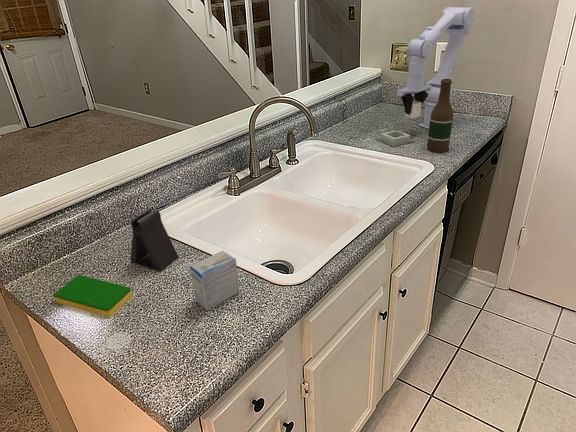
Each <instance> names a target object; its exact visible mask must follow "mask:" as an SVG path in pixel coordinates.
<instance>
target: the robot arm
mask: <svg viewBox="0 0 576 432" xmlns="http://www.w3.org/2000/svg"><path fill="white" fill-rule="evenodd" d="M474 15H475V14H474V9H473V7H471V6H469V7H461V6H460V7H455V6H447V7H445V8H444V10H442V14H441V17H440V19H439V20H438V21H437V22H436V23H435V25H433V26H427V28H426V30H424V31H422V33H421V34H419V36H418V37H417V38H413V39H411V40H410V41H409V43H408V45H407V47H406V55H407V61H408V62H409V63H408V70H407V71H408V72H407V82H406V84H407V85H406V86H405V87H404V88H401V89H397V94H396V96H398V97H400V99H401V101H402V104H403V107H404V115H405V114H408V115H410V113H411V108H412V103H413V100H415V101H419V102H422V105H421V109H422V108H423V105H425V106H424V107H425V108H424V115H423V122H422V123H418V126H420V127H422V128H424V129H428V130H429V125H430V117H431V113H432V110H433V108H434V107H435V105H436V104H437V103H438V99H439V94H440V88H441V80H442V79H450V77H451V74H452V71H453V69H454V66H455V64H456V61H457V58H458V56H459V53H460V50H461V47H462V45H463V42H464V39H465V37H466V35H468V34H469V33H470V30H471V27H472V25H473V22H474V19H475V16H474ZM443 32H445V33H447V34H448V35H449V38H448V41H447V44H446V45H445V46H446V47H445V48H444V51H443V54H442V58H441V60H440V62H439V66H438V68H437V71H436V74H435V76H434V77H433V78H430V79H429V80H427V83H426V84H425V76H426V75H425V74H426V66H427V57H429V56H430V54H431V51H432V49H433V47H434V45H436V44H437V42H438V41H440V39H441V36H442V33H443ZM453 89H454V87H453V85H452V84H451V89H450V100H451V98H452V93H453ZM413 94H414V95H413Z"/></svg>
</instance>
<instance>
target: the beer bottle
mask: <svg viewBox="0 0 576 432" xmlns="http://www.w3.org/2000/svg"><path fill="white" fill-rule="evenodd" d="M452 84H453V80H452V79H451V78H449V79H442V80H441V88H440V94H439V99H438V103H437V104H436V105H435V107H434V108H433V110H432V113H431V117H430V125H429V129H428V135H427V142H426V150H427V151H428V152H431V153H434V154H435V153H437V154H442V153H443V154H444V153H447V152H448V150H449V147H450V141H451V135H452V127H453V120H454V110H453V107H452V105H451V99H450V89H451V85H452Z"/></svg>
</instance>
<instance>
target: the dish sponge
mask: <svg viewBox="0 0 576 432" xmlns="http://www.w3.org/2000/svg"><path fill="white" fill-rule="evenodd" d="M53 297H54V300H55V302H56V303H57V304H61V305H63V306H67V307H71V308H75V309H78V310H81V311H85V312H89V313H92V314H95V315H99V316H103V317H105V318H106V317H107V318H110V317H112V316H113V315H114V314H115V313H117V312H118V310H120V308H122V307H123V305H125V304H126V303H127V302H128V301H130V299H131V298H133V294H132V290H131V287H129V286H126V285H121V284H118V283H113V282H110V281H105V280H101V279H97V278H93V277H88V276H85V275H81V274H78V275H77V276H75V277H74V278H73V279H71V280H70V281H69V282H67V283H65V284H64V285H63V286H61V288H60V289H58V290H57V291H56V292H54V293H53Z"/></svg>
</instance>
